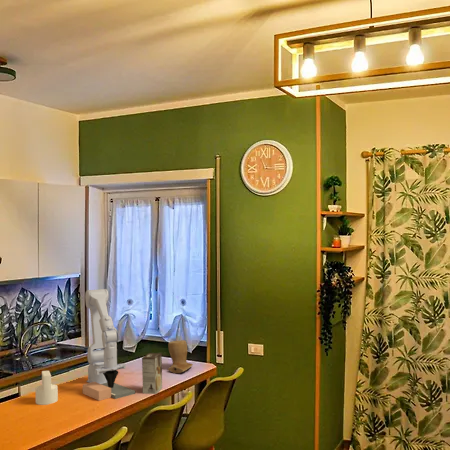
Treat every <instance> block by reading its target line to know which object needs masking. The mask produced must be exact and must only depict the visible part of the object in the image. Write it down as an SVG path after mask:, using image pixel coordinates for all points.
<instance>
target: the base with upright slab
mask: <svg viewBox="0 0 450 450" xmlns="http://www.w3.org/2000/svg"><path fill="white" fill-rule="evenodd" d="M51 374H52V373H51V372H50V370H42V371H41V384H40V385H39V386H36V387H35V404H36V405H39V406H48V405H51V404H54V403H56V402H58V400H59V396H58V395H59V394H58V393H59V391H58V389H59V388H58V385H57V384H53V383H52V375H51Z"/></svg>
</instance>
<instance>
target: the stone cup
mask: <svg viewBox="0 0 450 450" xmlns="http://www.w3.org/2000/svg"><path fill="white" fill-rule="evenodd" d="M167 345H168V347H167V348H168V353H169V354H170V357H171V361H172V365H171V366H169V367H168V368H167V370H168V371H170V372H171V373H173V374H181V373H183V372H185V371H187V370H189V369H190V368H192V367H193V366H194V365H193V363H190V362H187V355H188V343H187V341H186V340H185V339H182V340H173V341H169V342H168V344H167Z"/></svg>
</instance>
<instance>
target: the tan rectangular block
mask: <svg viewBox="0 0 450 450" xmlns="http://www.w3.org/2000/svg"><path fill="white" fill-rule="evenodd" d="M83 394H84V395H85V396H88V397H90V398H91V399H95V400H96V401H99V402H100V401H103V400H106V399H110V398H111V399H112V397H111V388H109V387H107V386H104V385H102V384H99V383H97V382H91V383H88V382H86V383H83V384H82V395H83Z"/></svg>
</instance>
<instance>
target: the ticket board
mask: <svg viewBox="0 0 450 450" xmlns="http://www.w3.org/2000/svg"><path fill="white" fill-rule="evenodd" d="M102 385H104V386H107V387H108V383H103V384H102ZM135 394H136V390H135V389H131V388H130V387H126V386H124V385H122V384H118V383H116V382H114V386H113V388H111V399H114V400H117V399H120V398H125V397H127V396H128V397H129V396H131V395H132V396H133V395H135Z"/></svg>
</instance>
